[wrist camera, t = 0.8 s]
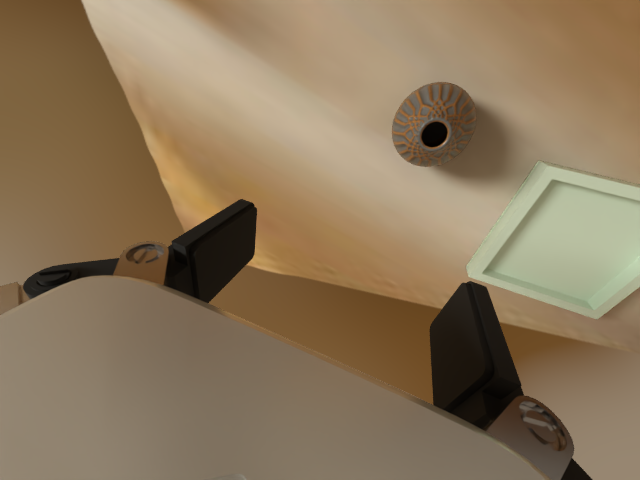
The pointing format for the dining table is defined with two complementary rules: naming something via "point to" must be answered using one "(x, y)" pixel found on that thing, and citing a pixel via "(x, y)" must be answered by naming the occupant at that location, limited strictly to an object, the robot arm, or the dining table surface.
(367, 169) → the dining table surface
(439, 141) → the vase
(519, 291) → the tray
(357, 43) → the dining table surface
